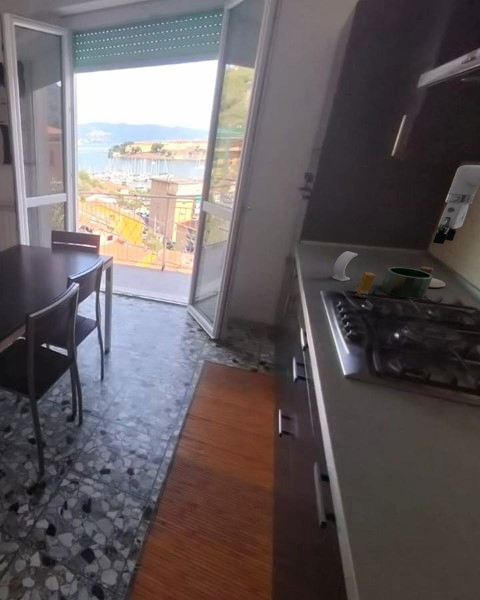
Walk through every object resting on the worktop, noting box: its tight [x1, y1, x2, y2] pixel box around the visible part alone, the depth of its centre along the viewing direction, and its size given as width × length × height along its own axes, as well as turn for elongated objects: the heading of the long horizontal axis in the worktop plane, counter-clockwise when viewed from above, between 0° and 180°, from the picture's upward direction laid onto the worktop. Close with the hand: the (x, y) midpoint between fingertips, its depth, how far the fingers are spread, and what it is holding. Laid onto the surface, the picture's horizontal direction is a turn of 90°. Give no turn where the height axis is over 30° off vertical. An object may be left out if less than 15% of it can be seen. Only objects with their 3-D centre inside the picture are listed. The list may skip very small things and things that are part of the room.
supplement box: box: [355, 271, 376, 296], centre depth 139 cm, size 3×3×10 cm
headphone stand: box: [331, 250, 359, 282], centre depth 157 cm, size 5×6×12 cm
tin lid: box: [419, 266, 447, 289], centre depth 154 cm, size 15×15×7 cm
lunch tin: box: [380, 266, 434, 300], centre depth 144 cm, size 14×14×8 cm
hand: (442, 241), depth 146 cm, fingers open, 9 cm apart
